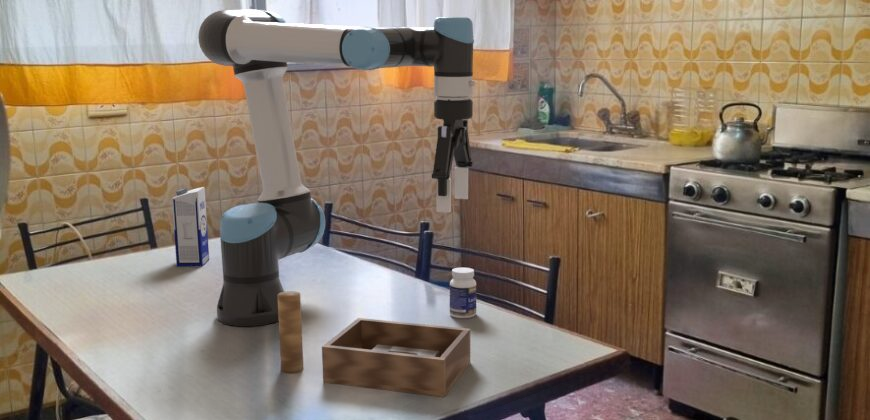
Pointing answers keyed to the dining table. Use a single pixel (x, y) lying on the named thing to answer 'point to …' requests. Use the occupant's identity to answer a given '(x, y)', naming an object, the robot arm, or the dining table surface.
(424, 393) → the box
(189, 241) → the milk carton
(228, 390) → the dining table surface
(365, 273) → the dining table surface
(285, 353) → the dowel
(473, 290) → the pill bottle
